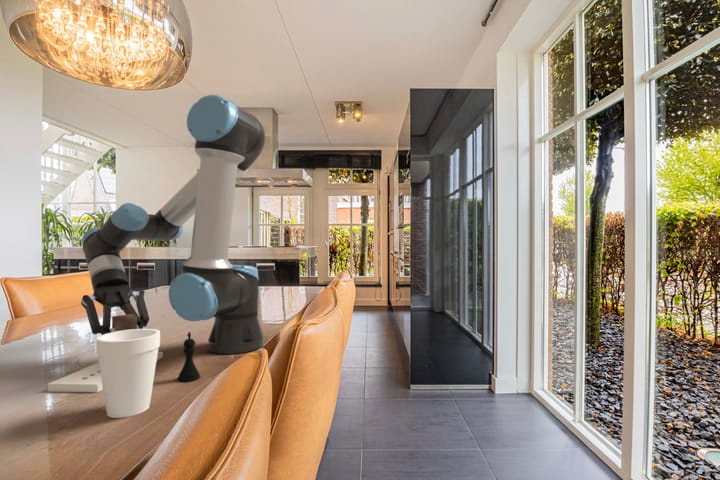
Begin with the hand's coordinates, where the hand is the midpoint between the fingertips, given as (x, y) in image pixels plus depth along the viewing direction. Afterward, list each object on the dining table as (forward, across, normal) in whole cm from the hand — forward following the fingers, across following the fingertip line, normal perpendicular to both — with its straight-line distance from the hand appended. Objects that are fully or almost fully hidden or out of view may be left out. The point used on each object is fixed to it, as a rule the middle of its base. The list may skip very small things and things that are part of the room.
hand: (129, 352), depth 83 cm
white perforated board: (+2, +3, -4) cm, 5 cm away
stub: (-1, 0, -4) cm, 4 cm away
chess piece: (+14, -7, +8) cm, 17 cm away
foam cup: (+19, +7, +13) cm, 24 cm away
